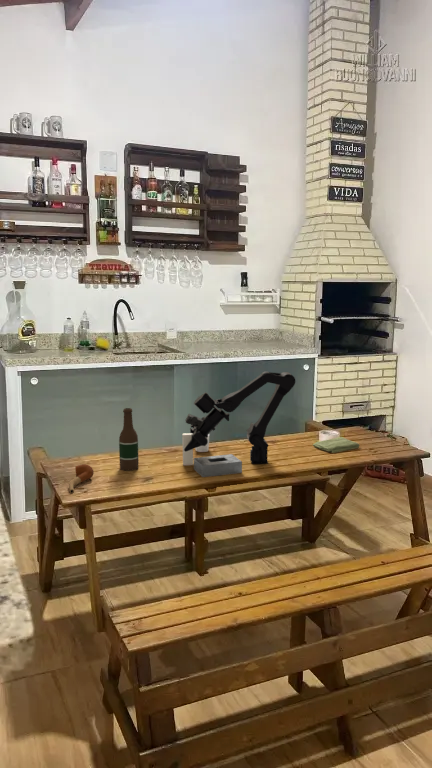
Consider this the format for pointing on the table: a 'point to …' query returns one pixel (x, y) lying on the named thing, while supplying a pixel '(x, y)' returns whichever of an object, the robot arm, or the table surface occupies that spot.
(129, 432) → the beer bottle
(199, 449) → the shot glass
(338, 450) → the washcloth
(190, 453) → the block
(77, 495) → the table surface
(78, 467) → the smoking pipe
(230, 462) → the box
